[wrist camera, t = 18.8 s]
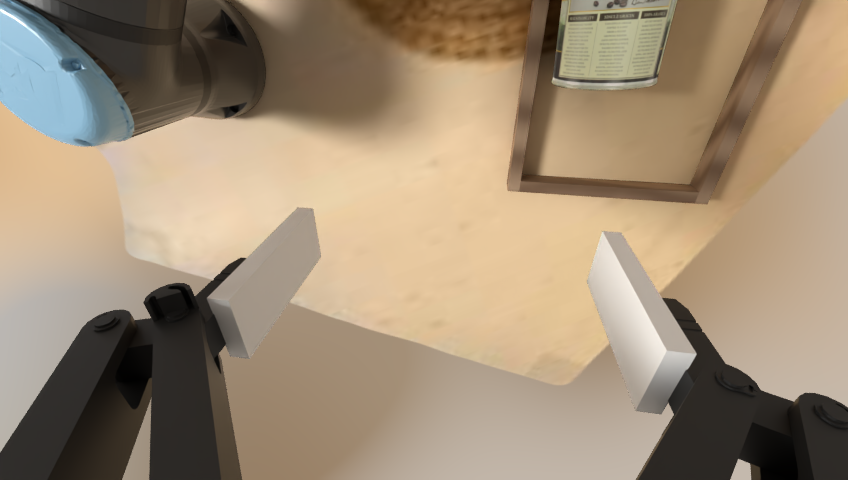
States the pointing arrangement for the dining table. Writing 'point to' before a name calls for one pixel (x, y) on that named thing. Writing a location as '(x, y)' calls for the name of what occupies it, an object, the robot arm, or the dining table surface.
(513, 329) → the dining table surface
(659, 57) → the coffee can
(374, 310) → the dining table surface
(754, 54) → the walnut frame
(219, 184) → the dining table surface
